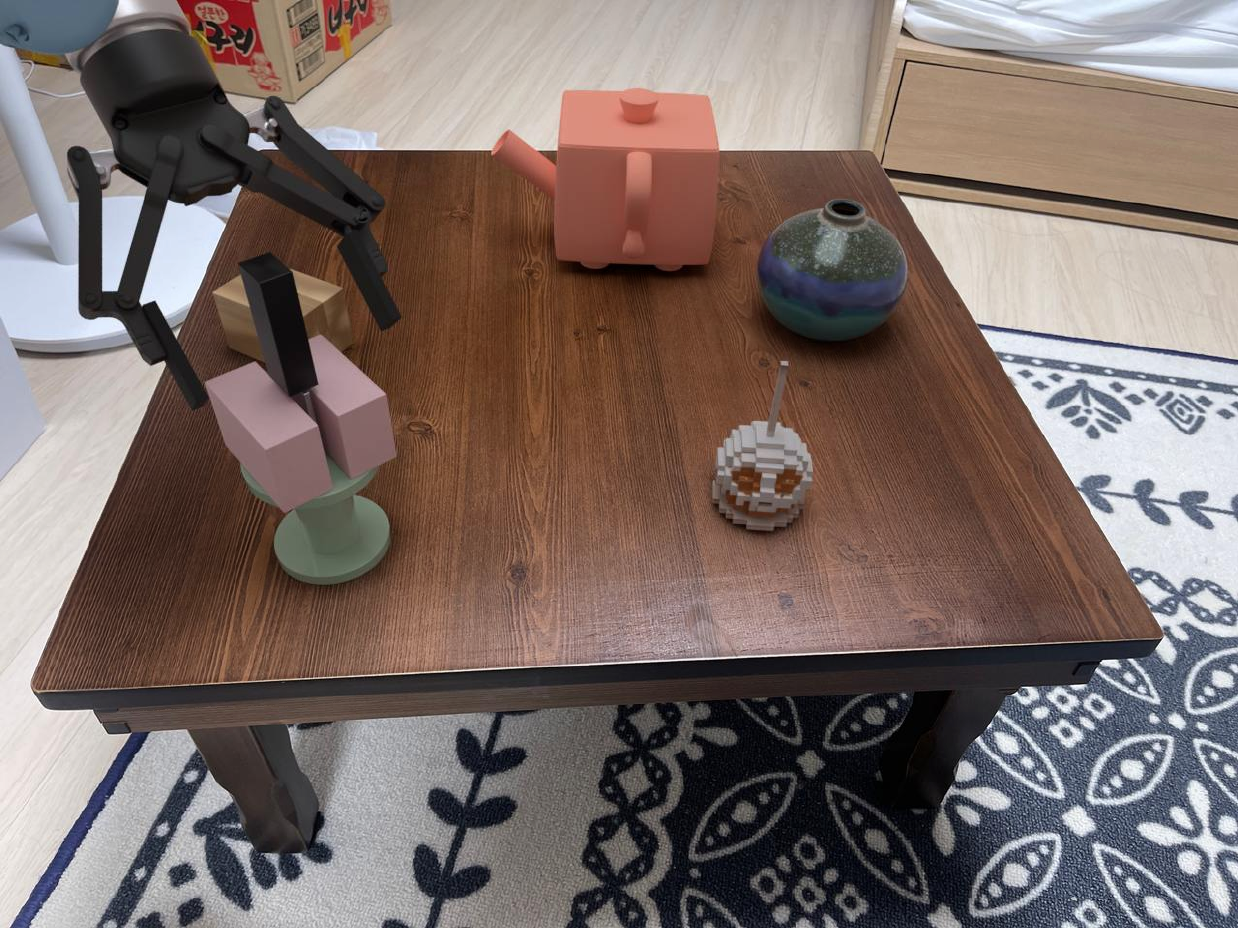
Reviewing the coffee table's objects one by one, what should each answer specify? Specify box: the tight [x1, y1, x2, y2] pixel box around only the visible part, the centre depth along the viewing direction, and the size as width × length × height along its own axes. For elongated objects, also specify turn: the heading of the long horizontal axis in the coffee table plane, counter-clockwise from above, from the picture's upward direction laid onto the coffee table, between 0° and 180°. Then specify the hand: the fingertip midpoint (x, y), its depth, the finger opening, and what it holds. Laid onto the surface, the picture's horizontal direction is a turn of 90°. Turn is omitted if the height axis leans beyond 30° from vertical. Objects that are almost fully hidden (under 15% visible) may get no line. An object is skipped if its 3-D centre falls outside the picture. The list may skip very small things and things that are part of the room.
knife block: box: [212, 267, 354, 363], centre depth 92 cm, size 7×10×7 cm
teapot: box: [490, 87, 720, 272], centre depth 105 cm, size 25×23×18 cm
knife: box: [237, 251, 319, 424], centre depth 63 cm, size 2×4×16 cm, turn 42°
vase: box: [756, 198, 909, 342], centre depth 97 cm, size 15×15×13 cm
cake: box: [204, 335, 397, 514], centre depth 67 cm, size 9×9×6 cm
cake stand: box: [239, 451, 392, 586], centre depth 72 cm, size 10×10×10 cm
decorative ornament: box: [711, 360, 814, 532], centre depth 76 cm, size 8×8×15 cm
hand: (301, 363), depth 61 cm, fingers open, 13 cm apart
